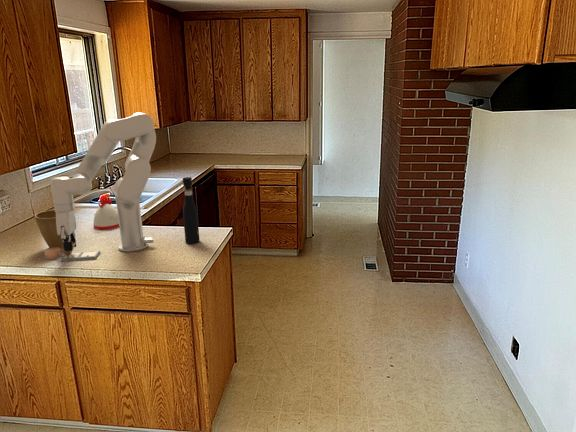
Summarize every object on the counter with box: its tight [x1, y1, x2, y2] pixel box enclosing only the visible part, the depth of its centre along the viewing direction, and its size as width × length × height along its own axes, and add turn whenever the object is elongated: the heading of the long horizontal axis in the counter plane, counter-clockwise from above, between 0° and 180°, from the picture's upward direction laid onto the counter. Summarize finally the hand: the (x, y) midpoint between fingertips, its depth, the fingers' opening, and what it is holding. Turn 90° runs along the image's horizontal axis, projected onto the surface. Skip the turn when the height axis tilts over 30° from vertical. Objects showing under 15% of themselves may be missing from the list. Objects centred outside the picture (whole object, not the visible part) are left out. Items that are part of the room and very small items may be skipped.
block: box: [59, 241, 77, 256], centre depth 192 cm, size 4×4×5 cm
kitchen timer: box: [92, 196, 119, 231], centre depth 235 cm, size 14×14×15 cm
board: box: [60, 250, 101, 262], centre depth 193 cm, size 14×7×1 cm, turn 98°
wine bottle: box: [182, 176, 200, 245], centre depth 204 cm, size 6×6×30 cm
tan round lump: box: [44, 247, 62, 261], centre depth 194 cm, size 6×6×4 cm
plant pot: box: [34, 209, 68, 249], centre depth 204 cm, size 15×15×16 cm
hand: (70, 248), depth 192 cm, fingers closed on block, 4 cm apart
